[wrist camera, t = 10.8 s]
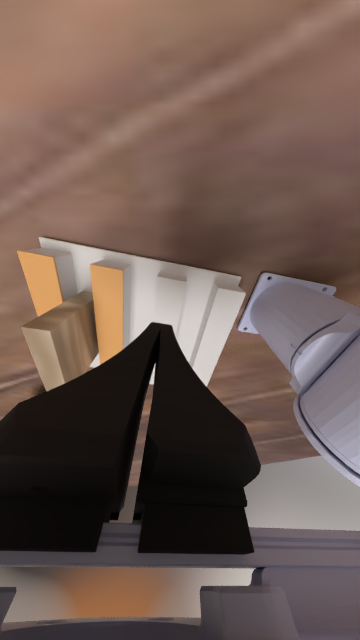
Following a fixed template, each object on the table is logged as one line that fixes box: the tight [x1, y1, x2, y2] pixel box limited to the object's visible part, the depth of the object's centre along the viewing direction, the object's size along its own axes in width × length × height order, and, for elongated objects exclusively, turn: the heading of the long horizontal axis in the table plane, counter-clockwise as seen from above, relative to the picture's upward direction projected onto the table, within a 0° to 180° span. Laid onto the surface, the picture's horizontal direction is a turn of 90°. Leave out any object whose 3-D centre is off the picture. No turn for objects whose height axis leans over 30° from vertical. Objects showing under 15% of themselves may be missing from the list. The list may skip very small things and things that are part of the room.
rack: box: [17, 237, 246, 387], centre depth 20 cm, size 22×18×3 cm
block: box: [21, 291, 99, 391], centre depth 16 cm, size 2×8×8 cm, turn 169°
